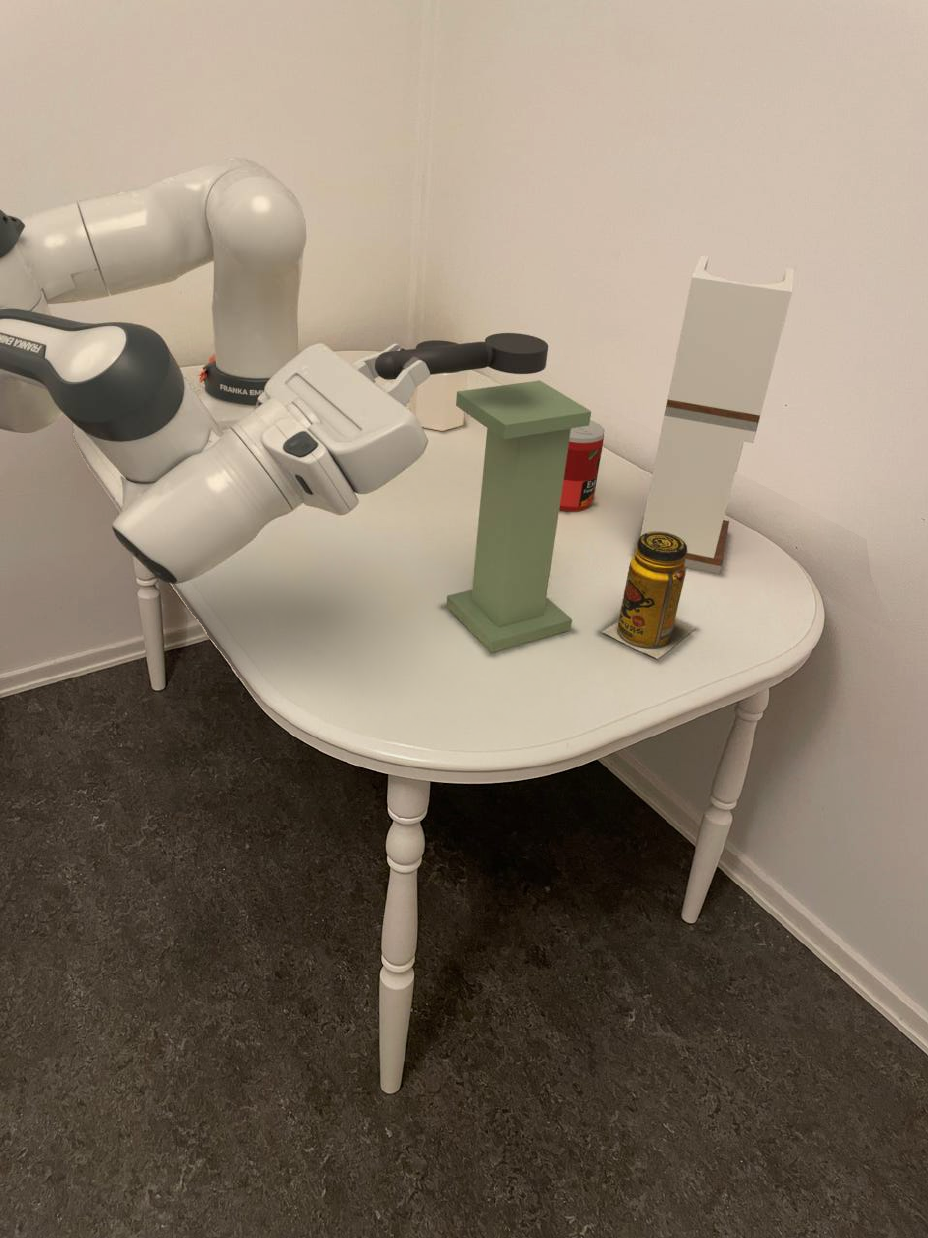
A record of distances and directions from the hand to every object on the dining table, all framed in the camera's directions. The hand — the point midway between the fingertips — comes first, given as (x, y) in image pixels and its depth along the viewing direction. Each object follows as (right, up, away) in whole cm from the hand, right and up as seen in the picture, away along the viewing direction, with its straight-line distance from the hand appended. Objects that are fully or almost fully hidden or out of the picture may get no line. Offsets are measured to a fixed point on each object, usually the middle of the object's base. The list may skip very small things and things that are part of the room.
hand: (414, 358), depth 85 cm
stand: (+8, -23, +23) cm, 34 cm away
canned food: (+19, -7, +50) cm, 54 cm away
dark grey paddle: (+4, 0, +3) cm, 5 cm away
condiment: (+25, -25, +24) cm, 43 cm away
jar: (0, +9, +71) cm, 71 cm away
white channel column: (+33, -14, +42) cm, 55 cm away
